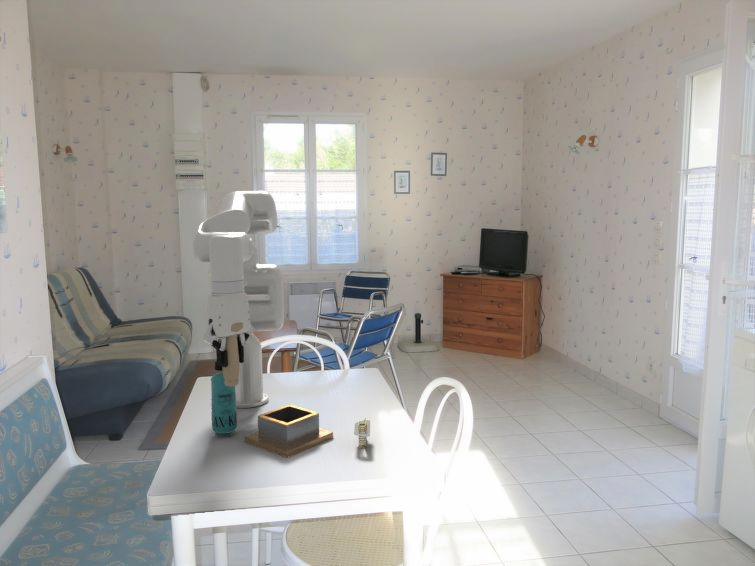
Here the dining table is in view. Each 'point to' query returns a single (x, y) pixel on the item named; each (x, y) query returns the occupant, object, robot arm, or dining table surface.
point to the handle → (232, 358)
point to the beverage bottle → (222, 404)
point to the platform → (362, 432)
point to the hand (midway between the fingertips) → (230, 363)
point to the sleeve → (288, 431)
